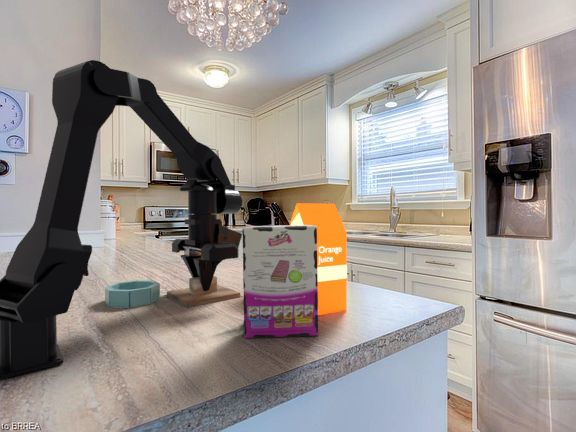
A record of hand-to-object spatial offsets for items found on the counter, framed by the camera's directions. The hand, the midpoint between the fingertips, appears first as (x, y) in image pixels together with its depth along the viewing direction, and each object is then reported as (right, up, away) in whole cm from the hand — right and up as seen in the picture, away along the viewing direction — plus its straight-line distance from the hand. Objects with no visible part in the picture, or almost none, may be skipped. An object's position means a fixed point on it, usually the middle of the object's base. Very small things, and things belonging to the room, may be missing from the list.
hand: (203, 289), depth 68 cm
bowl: (-13, -2, -3) cm, 14 cm away
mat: (0, -2, 0) cm, 2 cm away
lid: (0, -1, 0) cm, 1 cm away
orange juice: (+23, -3, -5) cm, 24 cm away
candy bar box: (+16, -3, -18) cm, 24 cm away
